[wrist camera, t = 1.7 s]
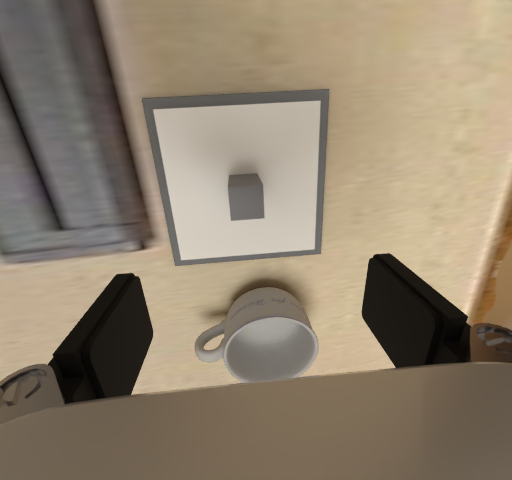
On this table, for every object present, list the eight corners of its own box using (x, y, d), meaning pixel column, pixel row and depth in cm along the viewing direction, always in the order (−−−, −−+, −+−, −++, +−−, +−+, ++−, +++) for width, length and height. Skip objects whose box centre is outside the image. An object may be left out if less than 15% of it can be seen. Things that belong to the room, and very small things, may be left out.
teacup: (310, 280, 35) (330, 321, 28) (293, 342, 39) (307, 392, 32) (204, 270, 33) (195, 311, 26) (198, 336, 37) (189, 388, 30)
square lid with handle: (154, 109, 25) (130, 104, 19) (318, 101, 26) (344, 93, 20) (182, 258, 32) (170, 289, 26) (313, 247, 32) (331, 274, 26)
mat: (143, 99, 25) (141, 98, 25) (327, 89, 26) (329, 89, 26) (176, 264, 32) (175, 266, 32) (319, 252, 33) (320, 253, 33)
